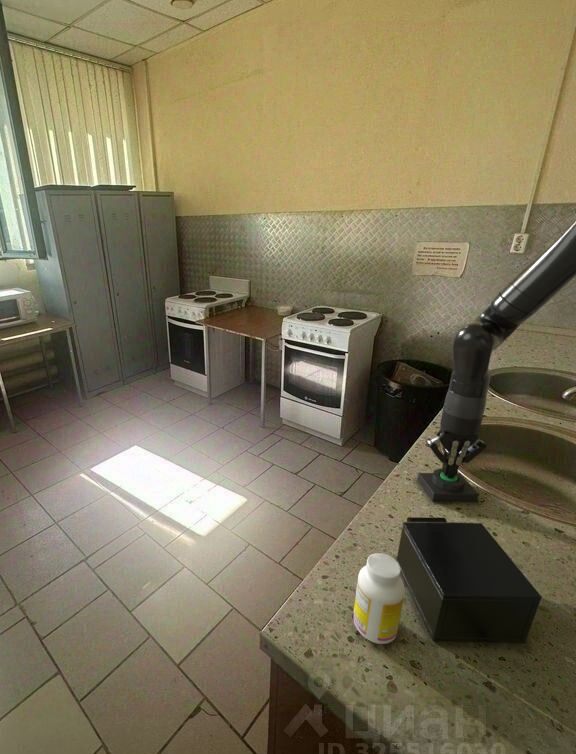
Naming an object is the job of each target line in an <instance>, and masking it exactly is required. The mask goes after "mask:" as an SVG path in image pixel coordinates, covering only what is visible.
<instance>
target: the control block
mask: <svg viewBox="0 0 576 754" xmlns="http://www.w3.org/2000/svg"><path fill="white" fill-rule="evenodd" d="M441 472H442V468H437V469H435V470H433V472H418V475H417V482H418V483H419V485H420V486H421V487H422V489H423V490H424V492H425V493H426V494H427V496H428V498H429V499H430V500H431V502H433V503H434V502H435V503H436V502H437V503H442V502H443V503H447V502H448V503H477V502H478V500H479V497H480V493H479V492H478V491H477V490H476V489H475V488H474V487H473V485H471V483H470V482H469V481H468V480H467V479H466V478H465V476H463V475H462V474H461V472H457V475H456V476H457V477H458V480H457V482H449V481H445V480H443V479H442V478H440V474H441Z"/></svg>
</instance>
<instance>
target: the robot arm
mask: <svg viewBox="0 0 576 754" xmlns="http://www.w3.org/2000/svg"><path fill="white" fill-rule="evenodd" d="M574 278H576V219H575V220H574V221H573V223H571V225H570V226H569V227H568V228H567V229H566V230H565V231H564V232H563V233H562V234H561V235H560V236H559V237H558V238H557V239H556V240H555V241H554V242H553V243H552V244H550V245H549V246H548V247H547V248H546V249H544V250H543V251H542V252H541V253H539V255H538V256H536V257H535V258H534V259H532V260H531V261H530V262H529V263H528V264H527V265H526V266H524V267H523V268H522V269H521V270H519V272H518V273H517V274H516V275H515V276H514V277H513V278H512V279H511V280H510V281H508V283H507V284H506V285H504V287H503V288H502V289H501V290H500V291H499V292H498V293H497V294H496V295H495V296H494V297H493V298H492V300H491V301H490V305H489V306H488V307H487V308H486V309H485V310H483V311H482V312H481V313H480V314H479V315H478V316H477V317H475V319H474V320H473V321H471V322H469V323H468V324H465V325H463V326H461V328H460V329H459V330H458V331H457V332H456V334H455V336H454V340H453V344H452V352H451V353H452V354H451V355H452V372H451V375H450V380H449V384H448V385H449V386H448V390H447V392H446V395H445V398H444V403H443V407H442V413H441V418H440V426H439V427H440V428H439V431H437V433H436V436H435V437H434V438H432V439H431V438H426V439H425V443H426V445H427V446H428V447H429V449H430V450H431V452H433V454H434V455H435V457H436V458H437V459H438V460H439V462H440V463H442V467H441V469H442V472H443V474H444V475H445V476H446V477H447V478H454V477H455V476H456V475H457V473H459V472H458V471H459V467H460V466H461V465H462V463H465V464H468V463H470V462H471V461H473V459H475V458H476V457H477V456H478V455H480V454H481V453H482V452H483V451H484V450H485V449H486V448H487V447H488V445H487V444H486V443H485V442H484V441H483V440H481V438H479V433H480V430H481V426H482V422H483V418H484V413H485V410H486V405H487V397H488V396H487V394H488V393H489V392H488V391H489V387H490V383H491V379H492V378H491V375H492V373H491V370H490V368H489V365H490V363H491V357H492V354H493V351H494V350H496V349H498V348H499V346H501V345H502V344H503V343H505V341H507V339H508V338H509V337H510V336H512V334H513V333H514V332H515V331H516V330H517V329H518V328H519V327H520V326H521V325H522V324H523V323H525V322H526V321H527V320H529V319H530V318H531V317H532V316H534V314H536V313H538V312H539V310H541V309H542V308H543V307H544V306H545V305H546V304H547V303H548V302H549V301H551V300H552V299H553V298H554V297H555V296H556V295H557V294H558V293H559V292H561V291H562V290H563V289H564V288H565V287H566V286H567V285H568V284H569V283H570V282H571V281H573V279H574ZM440 446H442V450H443V453H442V451H441V450H440V448H441V447H440Z"/></svg>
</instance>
